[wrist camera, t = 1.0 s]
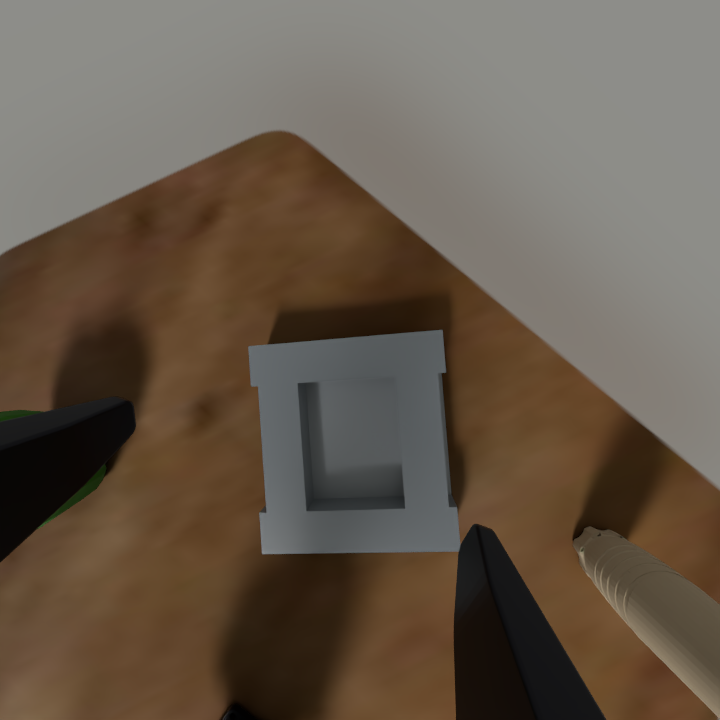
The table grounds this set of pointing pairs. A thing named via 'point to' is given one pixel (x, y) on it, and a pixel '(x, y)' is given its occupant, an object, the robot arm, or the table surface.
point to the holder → (355, 445)
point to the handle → (658, 608)
